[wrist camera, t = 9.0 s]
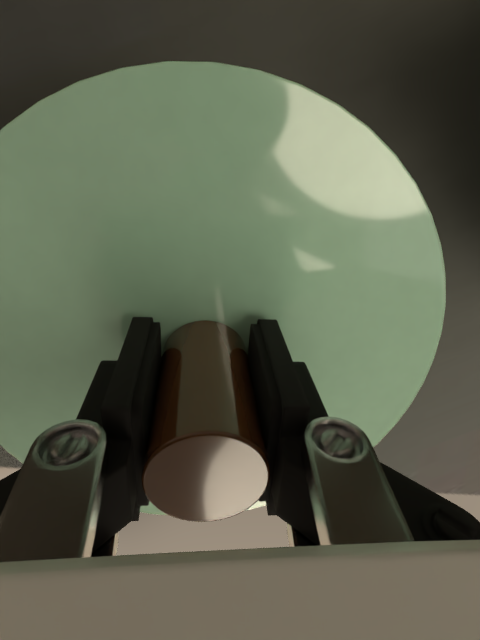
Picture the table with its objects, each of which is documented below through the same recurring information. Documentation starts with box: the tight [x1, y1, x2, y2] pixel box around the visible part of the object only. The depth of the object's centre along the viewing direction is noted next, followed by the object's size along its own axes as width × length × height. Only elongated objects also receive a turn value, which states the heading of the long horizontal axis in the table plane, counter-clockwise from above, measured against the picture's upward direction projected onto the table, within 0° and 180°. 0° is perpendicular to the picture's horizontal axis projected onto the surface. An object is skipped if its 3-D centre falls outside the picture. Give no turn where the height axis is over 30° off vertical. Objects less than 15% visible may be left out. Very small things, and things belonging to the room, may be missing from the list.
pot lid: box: [0, 61, 446, 522], centre depth 10 cm, size 15×15×6 cm
